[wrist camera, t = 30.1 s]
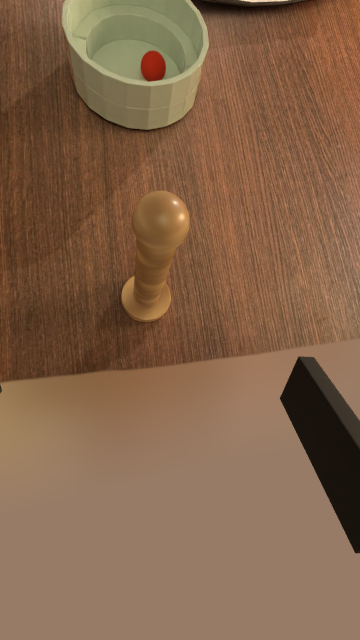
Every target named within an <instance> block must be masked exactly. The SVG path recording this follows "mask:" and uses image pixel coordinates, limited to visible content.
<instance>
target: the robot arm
mask: <svg viewBox="0 0 360 640" xmlns="http://www.w3.org/2000/svg"><path fill="white" fill-rule="evenodd" d="M1 391H2V390H1V386H0V393H1ZM280 400H281V402H282V404H283V406H284V408H285V410H286V412H287V414H288V416H289V418H290V420H291V422H292V424H293V426H294V429H295V431H296V433H297V434H298V437H299V439H300V441H301V443H302V445H303V447H304V449H305V451H306V453H307V455H308V457H309V459H310V461H311V463H312V465H313V467H314V469H315V472H316V474H317V476H318V478H319V480H320V482H321V484H322V486H323V488H324V490H325V492H326V494H327V496H328V498H329V500H330V502H331V504H332V506H333V508H334V511H335V513H336V515H337V517H338V519H339V521H340V523H341V525H342V527H343V529H344V531H345V533H346V535H347V537H348V539H349V541H350V543H351V545H352V547H353V549H354V551H355V553H360V421H359V419H358V418H357V416H356V415H355V414H354V412H353V411H352V409H351V408H350V407H349V405H348V404H347V403H346V401H345V400H344V398H343V397H342V396H341V394H340V393H339V391H338V390H337V389H336V387H335V386H334V385H333V383H332V382H331V380H330V379H329V378H328V376H327V375H326V373H325V372H324V371H323V369H322V368H321V367H320V365H319V364H318V362H317V361H316V359H315V358H314V357H298V359H297V361H296V364H295V366H294V368H293V370H292V373H291V375H290V377H289V379H288V382H287V384H286V386H285V388H284V391H283V393H282V395H281V397H280Z"/></svg>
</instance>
